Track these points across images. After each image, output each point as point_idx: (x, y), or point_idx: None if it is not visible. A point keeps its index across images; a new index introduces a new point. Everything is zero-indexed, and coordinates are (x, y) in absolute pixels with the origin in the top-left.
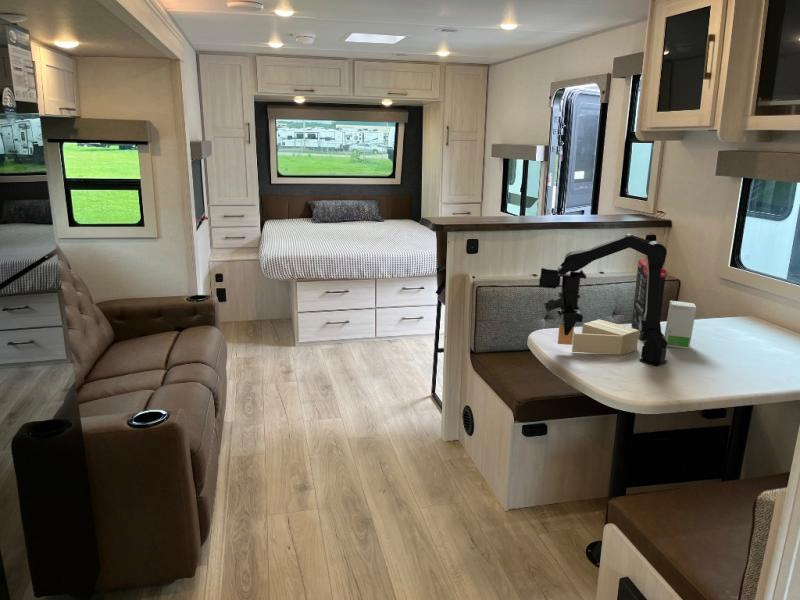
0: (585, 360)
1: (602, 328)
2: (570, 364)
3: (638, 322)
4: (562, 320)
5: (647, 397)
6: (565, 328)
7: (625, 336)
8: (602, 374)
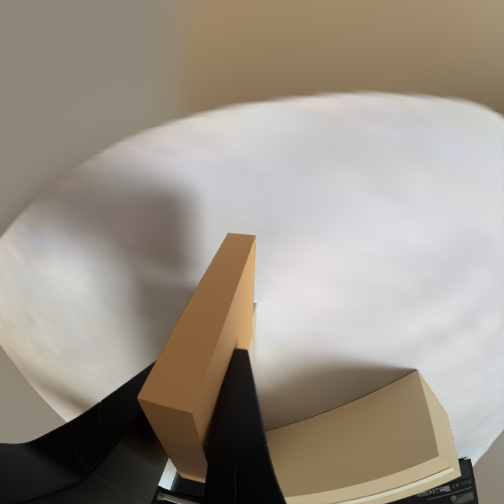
0: (144, 323)
1: (337, 492)
2: (72, 240)
3: (416, 499)
4: (223, 488)
5: (4, 343)
6: (125, 393)
7: None
8: (45, 320)
